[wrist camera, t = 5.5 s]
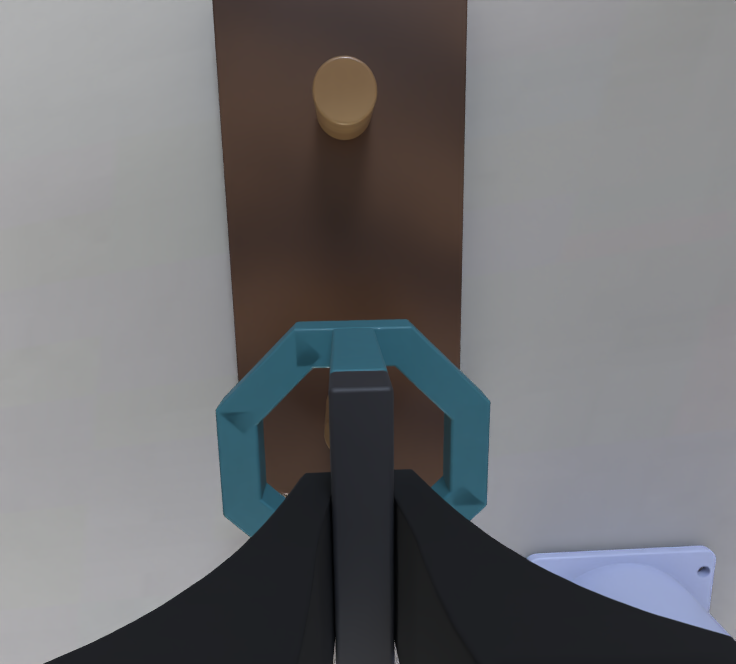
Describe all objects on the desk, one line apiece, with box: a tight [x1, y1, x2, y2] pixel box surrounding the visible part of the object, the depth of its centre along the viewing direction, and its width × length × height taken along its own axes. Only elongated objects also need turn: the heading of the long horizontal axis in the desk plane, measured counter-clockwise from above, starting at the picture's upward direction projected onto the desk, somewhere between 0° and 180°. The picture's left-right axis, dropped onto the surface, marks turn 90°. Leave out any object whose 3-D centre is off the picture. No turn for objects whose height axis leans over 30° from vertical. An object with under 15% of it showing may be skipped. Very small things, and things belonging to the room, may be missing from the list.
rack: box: [212, 0, 467, 494], centre depth 17 cm, size 17×8×4 cm, turn 1°
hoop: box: [216, 319, 491, 664], centre depth 11 cm, size 7×7×6 cm
